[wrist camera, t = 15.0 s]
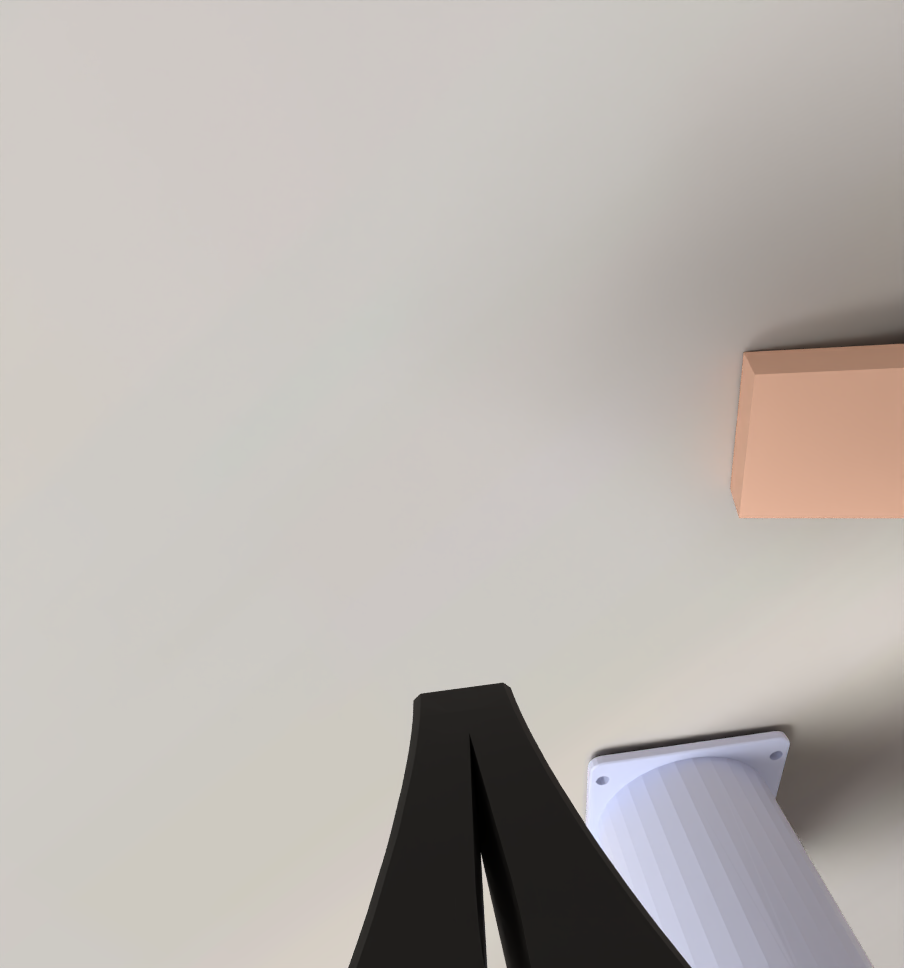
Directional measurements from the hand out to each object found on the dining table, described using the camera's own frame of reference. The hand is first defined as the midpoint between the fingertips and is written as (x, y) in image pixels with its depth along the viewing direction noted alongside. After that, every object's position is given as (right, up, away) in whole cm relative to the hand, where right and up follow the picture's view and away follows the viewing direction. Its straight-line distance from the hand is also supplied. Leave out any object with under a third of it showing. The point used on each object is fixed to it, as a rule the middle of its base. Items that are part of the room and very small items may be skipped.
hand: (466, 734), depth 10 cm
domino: (+8, +5, +9) cm, 13 cm away
